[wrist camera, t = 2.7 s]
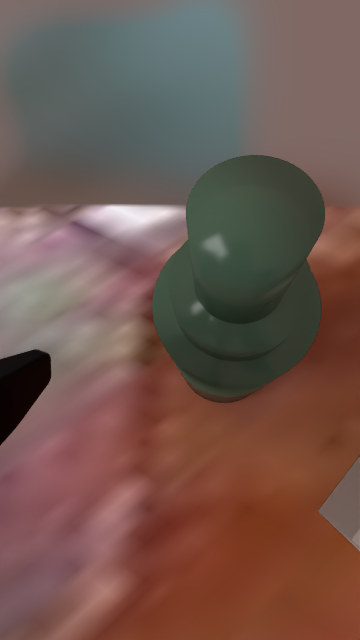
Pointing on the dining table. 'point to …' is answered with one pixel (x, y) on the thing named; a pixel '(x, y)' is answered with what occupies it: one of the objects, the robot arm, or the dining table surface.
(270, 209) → the glass bottle
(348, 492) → the u rest
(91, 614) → the dining table surface
